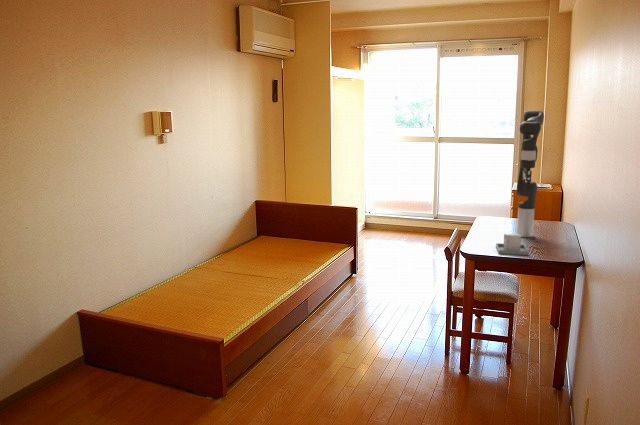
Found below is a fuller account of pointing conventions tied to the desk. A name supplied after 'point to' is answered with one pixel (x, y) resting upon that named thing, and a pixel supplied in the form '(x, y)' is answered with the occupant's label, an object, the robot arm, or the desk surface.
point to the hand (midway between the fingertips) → (526, 188)
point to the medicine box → (512, 242)
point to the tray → (509, 252)
